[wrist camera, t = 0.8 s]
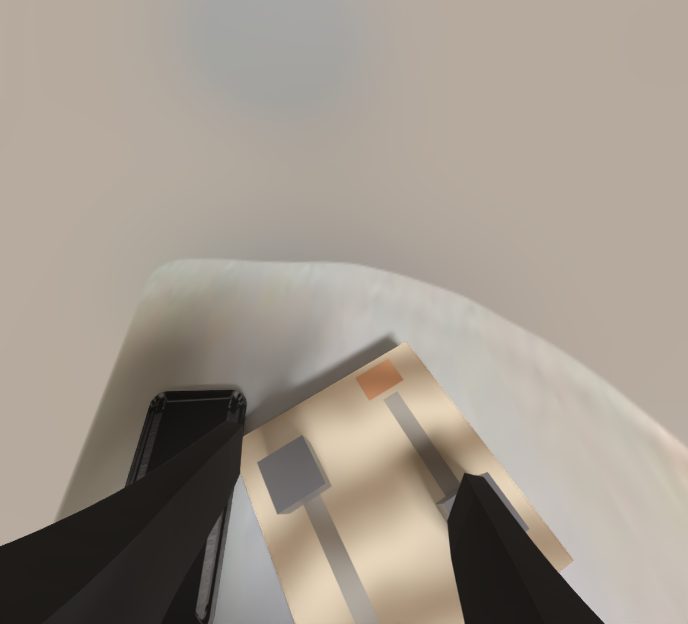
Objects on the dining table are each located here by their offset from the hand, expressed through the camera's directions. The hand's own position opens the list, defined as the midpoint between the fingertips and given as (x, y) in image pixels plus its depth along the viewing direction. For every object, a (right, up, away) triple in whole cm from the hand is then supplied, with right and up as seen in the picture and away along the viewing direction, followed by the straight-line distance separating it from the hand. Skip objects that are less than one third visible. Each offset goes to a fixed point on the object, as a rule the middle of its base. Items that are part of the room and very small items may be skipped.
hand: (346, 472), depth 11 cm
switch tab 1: (-3, -6, +11) cm, 13 cm away
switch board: (+3, -7, +12) cm, 14 cm away
